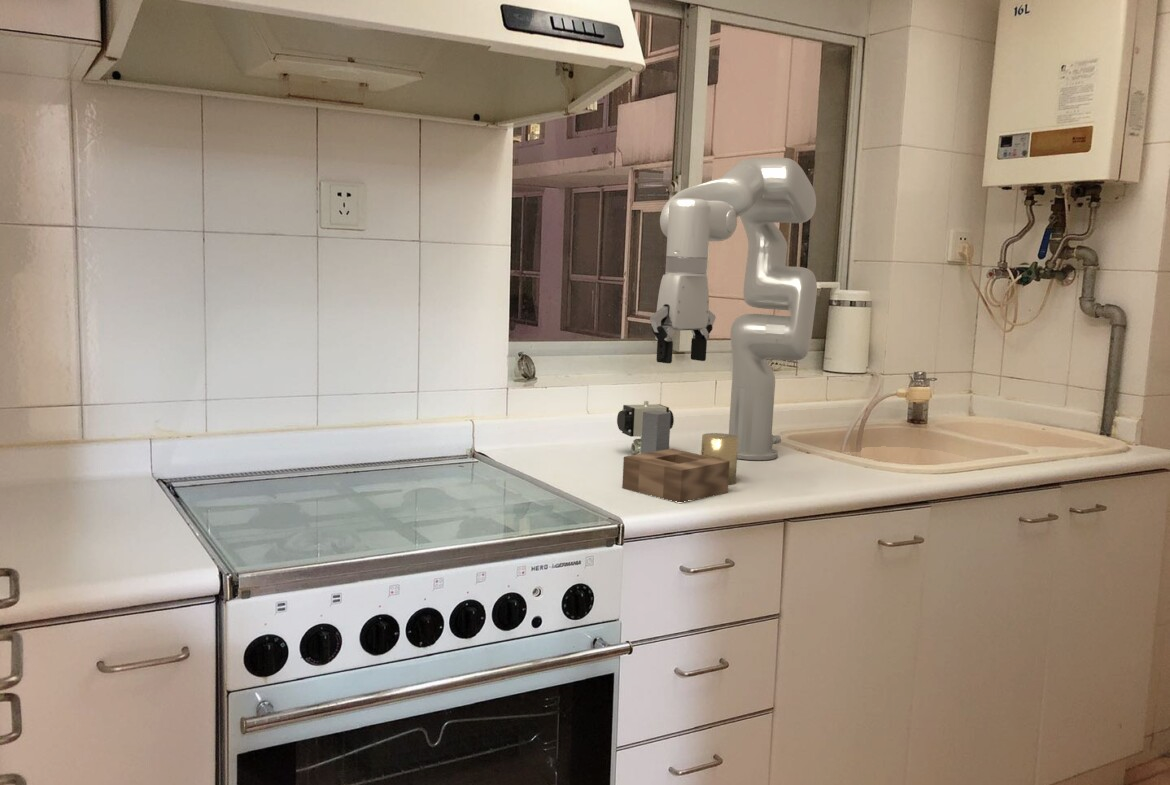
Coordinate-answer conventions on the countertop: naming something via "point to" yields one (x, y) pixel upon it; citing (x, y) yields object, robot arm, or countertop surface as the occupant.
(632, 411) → the pneumatic valve
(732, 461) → the round bit
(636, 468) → the bore block
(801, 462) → the countertop surface
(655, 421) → the square bit
